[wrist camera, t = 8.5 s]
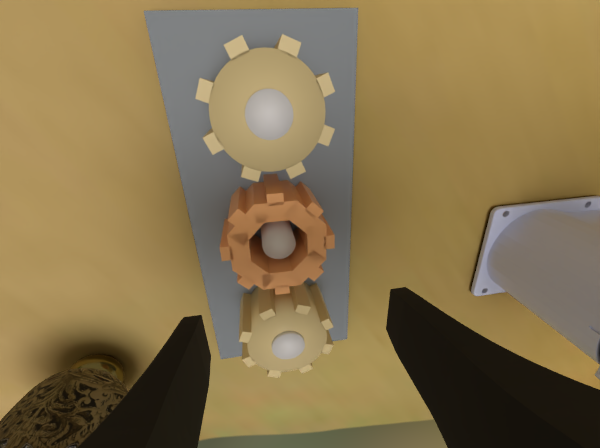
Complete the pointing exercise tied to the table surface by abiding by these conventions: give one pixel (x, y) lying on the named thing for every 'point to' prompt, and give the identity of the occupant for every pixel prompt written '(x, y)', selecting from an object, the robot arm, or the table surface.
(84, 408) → the cup
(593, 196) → the robot arm
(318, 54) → the gear board
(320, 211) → the loose gear
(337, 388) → the table surface
